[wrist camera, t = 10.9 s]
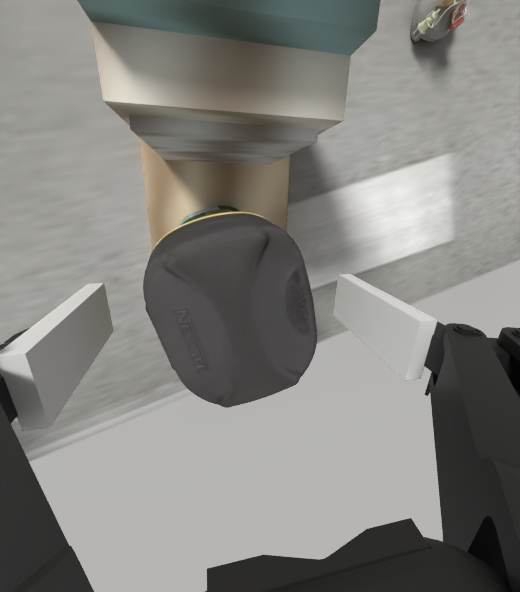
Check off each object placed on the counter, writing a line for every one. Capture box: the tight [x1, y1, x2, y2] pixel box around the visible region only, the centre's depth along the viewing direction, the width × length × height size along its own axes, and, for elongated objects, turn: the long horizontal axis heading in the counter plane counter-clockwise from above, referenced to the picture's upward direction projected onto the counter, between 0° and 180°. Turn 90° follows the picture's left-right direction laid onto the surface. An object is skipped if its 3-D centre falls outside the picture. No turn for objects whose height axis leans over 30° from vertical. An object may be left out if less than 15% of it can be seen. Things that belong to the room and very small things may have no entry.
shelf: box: [78, 0, 380, 250], centre depth 18 cm, size 14×22×22 cm, turn 179°
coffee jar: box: [143, 206, 317, 407], centre depth 20 cm, size 10×8×19 cm
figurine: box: [411, 0, 471, 42], centre depth 24 cm, size 5×4×6 cm
